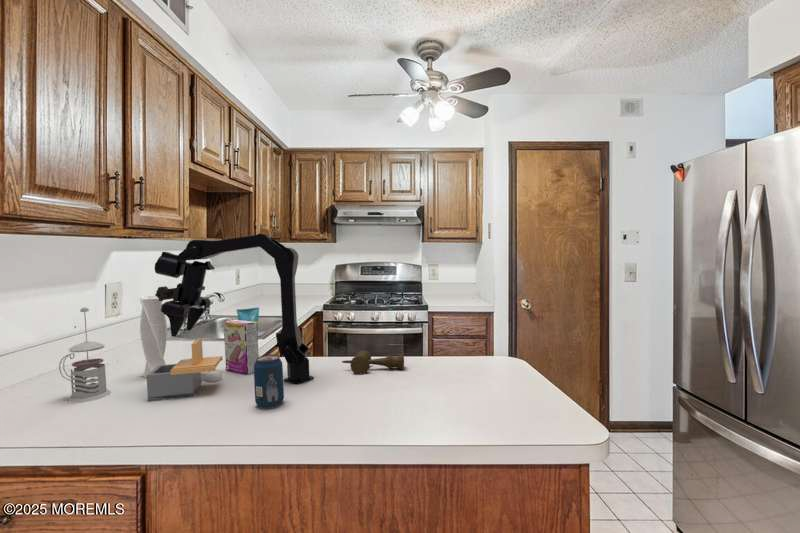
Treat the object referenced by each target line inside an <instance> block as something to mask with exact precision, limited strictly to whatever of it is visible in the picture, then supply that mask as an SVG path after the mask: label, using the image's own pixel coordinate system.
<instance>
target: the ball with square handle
mask: <svg viewBox="0 0 800 533" xmlns="http://www.w3.org/2000/svg"><path fill="white" fill-rule="evenodd" d="M202 380H203V381H206V382H207V383H215V381H216V382H219V380H220V381H221V380H223V370H222V369H216V370H215V371H208V372H201V381H202Z"/></svg>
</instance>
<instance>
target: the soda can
mask: <svg viewBox="0 0 800 533" xmlns="http://www.w3.org/2000/svg"><path fill="white" fill-rule="evenodd" d="M283 367H284V366H283V361H282V360H281V358H280V355H278V354H265V355H261V356H259V357H258V358H256V362H255V364H254V373H253V381H254V383H253V384H254V403H255V404H256V405H257V407H258V408H259V409H265V410H266V409H268V410H269V409H274V408H277V407H279V406H281V404H282V403H283V401H284V398H285V394H284V393H285V392H284V387H285V386H284V371H283V370H284V368H283Z"/></svg>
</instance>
